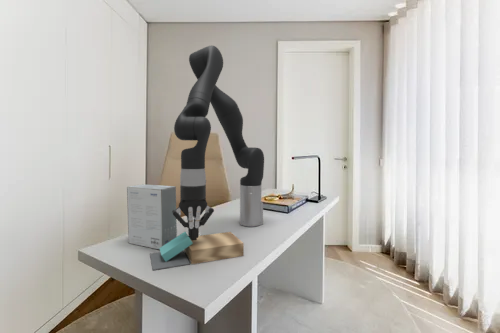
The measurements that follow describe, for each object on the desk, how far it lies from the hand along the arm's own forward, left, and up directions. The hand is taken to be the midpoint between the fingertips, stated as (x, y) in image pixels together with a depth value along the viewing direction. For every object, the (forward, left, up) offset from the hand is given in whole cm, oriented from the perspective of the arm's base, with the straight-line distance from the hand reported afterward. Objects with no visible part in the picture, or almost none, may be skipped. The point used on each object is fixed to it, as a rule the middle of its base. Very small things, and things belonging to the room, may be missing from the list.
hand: (193, 239), depth 84 cm
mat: (+7, 0, -5) cm, 9 cm away
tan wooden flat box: (-6, 0, -5) cm, 8 cm away
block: (+4, -1, -3) cm, 5 cm away
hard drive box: (+11, -16, -5) cm, 20 cm away
